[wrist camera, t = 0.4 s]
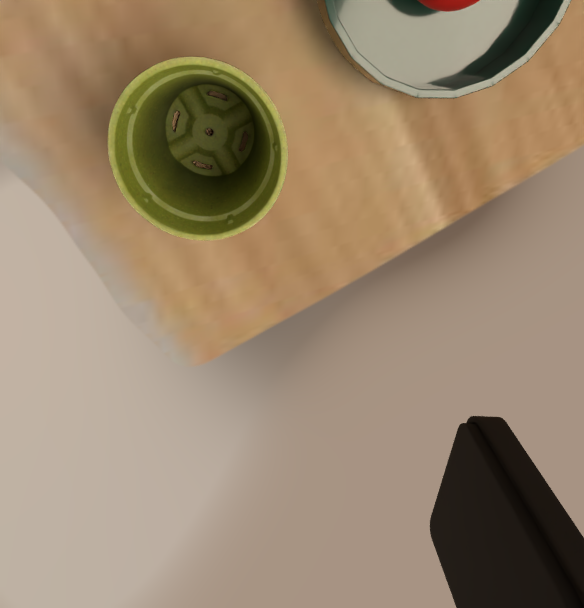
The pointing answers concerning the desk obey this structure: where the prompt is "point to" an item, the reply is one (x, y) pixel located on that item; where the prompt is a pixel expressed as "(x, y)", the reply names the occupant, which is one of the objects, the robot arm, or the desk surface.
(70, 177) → the desk surface
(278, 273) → the desk surface
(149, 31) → the desk surface
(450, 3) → the apple
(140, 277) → the desk surface
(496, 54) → the pot
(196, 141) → the plant pot
